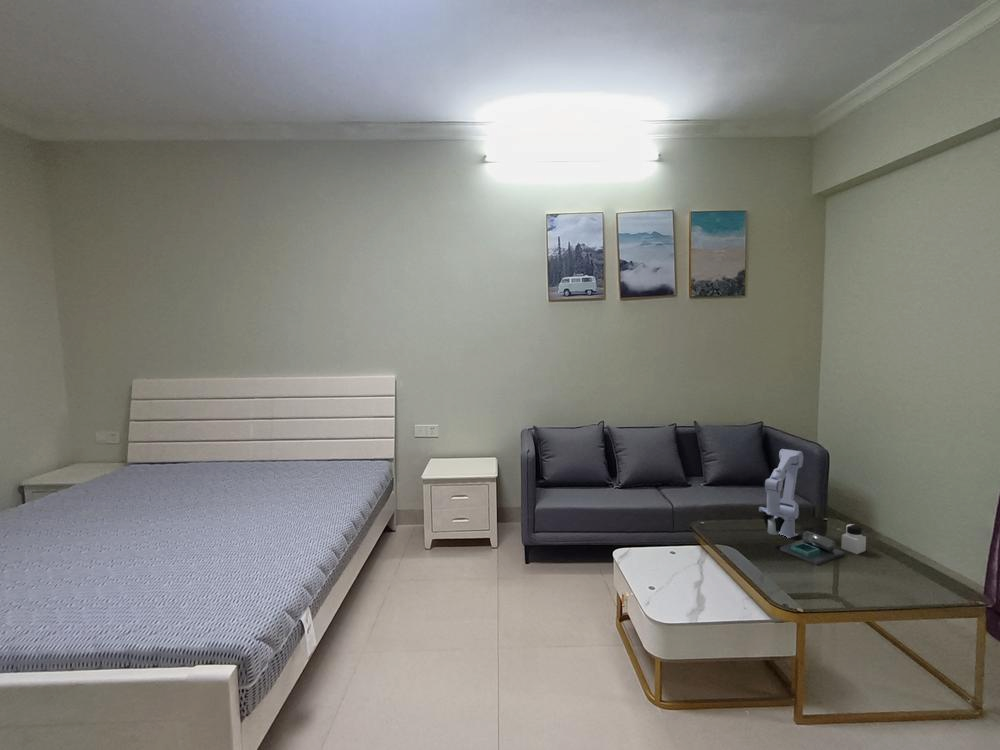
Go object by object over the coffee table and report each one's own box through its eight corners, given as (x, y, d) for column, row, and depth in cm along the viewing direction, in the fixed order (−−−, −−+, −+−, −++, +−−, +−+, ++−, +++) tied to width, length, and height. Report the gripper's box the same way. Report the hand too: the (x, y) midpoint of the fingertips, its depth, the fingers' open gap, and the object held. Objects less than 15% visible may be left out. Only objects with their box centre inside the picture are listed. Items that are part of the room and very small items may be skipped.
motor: (779, 550, 242) (779, 535, 241) (806, 540, 250) (806, 527, 250) (816, 565, 226) (816, 550, 225) (844, 555, 234) (844, 540, 233)
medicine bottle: (866, 551, 237) (866, 526, 236) (857, 554, 234) (857, 529, 233) (850, 545, 243) (850, 521, 242) (841, 548, 240) (841, 524, 239)
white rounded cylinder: (765, 532, 248) (765, 519, 247) (772, 530, 250) (772, 517, 249) (774, 535, 244) (774, 522, 243) (780, 533, 246) (781, 520, 245)
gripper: (754, 500, 250) (754, 526, 251) (781, 509, 237) (781, 536, 238) (764, 497, 253) (764, 523, 254) (791, 506, 240) (791, 533, 241)
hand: (773, 529), depth 247 cm, fingers closed on white rounded cylinder, 5 cm apart
